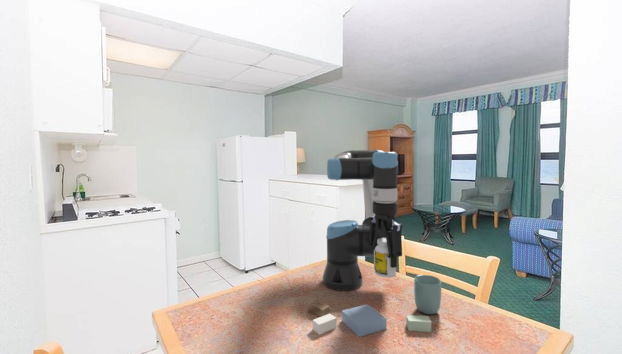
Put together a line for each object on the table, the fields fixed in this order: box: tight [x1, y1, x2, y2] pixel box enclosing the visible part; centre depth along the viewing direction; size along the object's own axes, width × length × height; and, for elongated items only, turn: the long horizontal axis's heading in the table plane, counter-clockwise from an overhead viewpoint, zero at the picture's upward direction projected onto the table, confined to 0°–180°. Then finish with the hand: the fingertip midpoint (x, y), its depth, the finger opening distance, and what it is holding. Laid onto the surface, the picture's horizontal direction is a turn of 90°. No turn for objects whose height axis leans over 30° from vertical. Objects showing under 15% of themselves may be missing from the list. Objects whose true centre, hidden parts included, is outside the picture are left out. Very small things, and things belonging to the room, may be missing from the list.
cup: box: [413, 274, 442, 315], centre depth 92 cm, size 8×8×10 cm
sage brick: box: [406, 314, 432, 333], centre depth 84 cm, size 6×3×3 cm, turn 84°
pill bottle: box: [374, 238, 389, 278], centre depth 95 cm, size 6×6×11 cm
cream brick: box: [312, 313, 337, 336], centre depth 84 cm, size 6×3×3 cm, turn 124°
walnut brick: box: [307, 299, 330, 318], centre depth 92 cm, size 6×3×3 cm, turn 48°
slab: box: [341, 303, 387, 338], centre depth 86 cm, size 9×9×3 cm
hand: (384, 272), depth 96 cm, fingers closed on pill bottle, 6 cm apart
